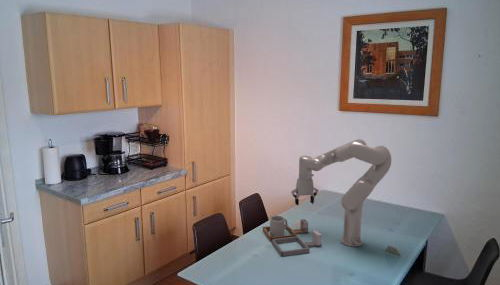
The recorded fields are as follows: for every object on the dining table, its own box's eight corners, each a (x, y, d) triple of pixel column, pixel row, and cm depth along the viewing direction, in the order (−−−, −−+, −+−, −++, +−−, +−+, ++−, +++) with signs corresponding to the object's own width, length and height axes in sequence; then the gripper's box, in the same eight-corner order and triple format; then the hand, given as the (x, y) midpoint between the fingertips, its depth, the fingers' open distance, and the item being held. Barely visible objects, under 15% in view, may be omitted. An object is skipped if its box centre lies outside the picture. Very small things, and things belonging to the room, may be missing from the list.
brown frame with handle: (312, 236, 221) (312, 225, 220) (270, 242, 215) (270, 230, 213) (301, 226, 237) (302, 215, 235) (262, 230, 230) (262, 219, 229)
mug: (276, 240, 218) (276, 222, 216) (267, 235, 224) (267, 217, 222) (291, 234, 225) (291, 217, 223) (282, 230, 231) (282, 213, 229)
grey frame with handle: (326, 250, 204) (326, 238, 203) (281, 256, 198) (281, 243, 196) (313, 238, 219) (314, 226, 218) (271, 243, 213) (272, 231, 212)
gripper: (315, 173, 228) (315, 200, 231) (289, 176, 223) (288, 203, 227) (321, 177, 221) (320, 204, 224) (294, 179, 216) (293, 207, 219)
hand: (304, 203), depth 225 cm, fingers open, 9 cm apart
